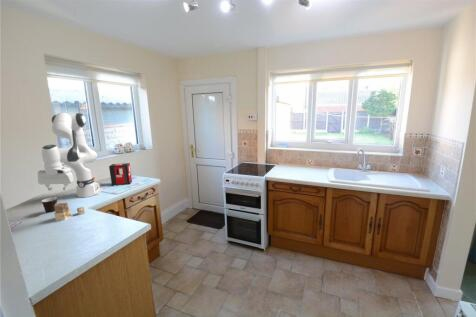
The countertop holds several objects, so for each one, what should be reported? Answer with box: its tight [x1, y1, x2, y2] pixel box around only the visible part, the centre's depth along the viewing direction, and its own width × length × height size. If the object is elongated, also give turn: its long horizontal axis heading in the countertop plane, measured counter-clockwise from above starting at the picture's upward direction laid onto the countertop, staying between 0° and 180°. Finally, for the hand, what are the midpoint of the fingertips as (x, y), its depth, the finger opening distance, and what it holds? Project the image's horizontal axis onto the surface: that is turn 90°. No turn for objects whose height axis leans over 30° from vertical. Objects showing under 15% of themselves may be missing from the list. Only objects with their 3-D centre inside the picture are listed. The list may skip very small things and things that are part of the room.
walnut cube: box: [54, 202, 70, 213], centre depth 148 cm, size 5×5×5 cm
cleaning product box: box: [108, 162, 133, 187], centre depth 223 cm, size 16×9×20 cm, turn 102°
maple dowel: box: [76, 206, 86, 216], centre depth 156 cm, size 4×4×4 cm
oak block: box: [54, 208, 72, 221], centre depth 149 cm, size 6×6×5 cm
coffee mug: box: [41, 196, 58, 214], centre depth 163 cm, size 12×9×10 cm
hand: (57, 190), depth 147 cm, fingers open, 8 cm apart
